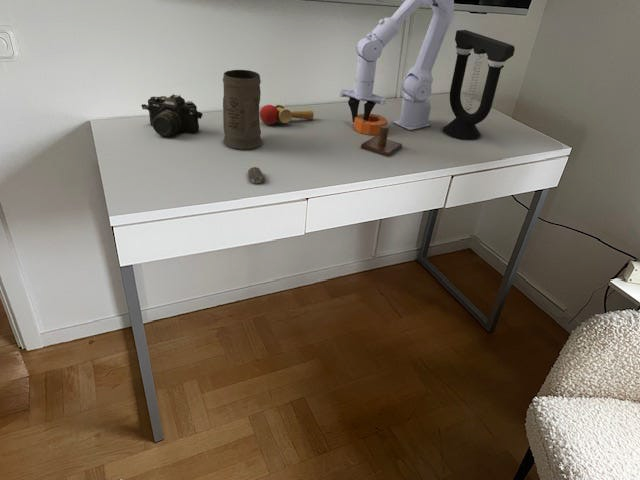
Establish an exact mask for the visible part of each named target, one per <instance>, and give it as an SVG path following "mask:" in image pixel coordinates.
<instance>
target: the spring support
mask: <svg viewBox="0 0 640 480" xmlns="http://www.w3.org/2000/svg"><path fill="white" fill-rule="evenodd" d="M454 41H455V44H456V46H455V49H456V60H455V64H454V69H453V74H452V78H451V79H452V80H451V85H450V88H449V104H450V109H451V112H452V113H453V115H454V116H455V118H454V119H453V120H451V121H450V122H449V123H447V125H445V126H444V127H443V128H442V132H443V134H445V135H446V136H448V137H450V138H453V139H458V140H463V141H472V140H477V139H479V138H480V137H481V133H480V131H479V129H478V127H477V125H478V124H479V123H481V122H483V121H484V120H485V119H486V118H487V117H488V116H489V114H490V112H491V110H492V107H493V103H494V98H495V95H496V91H497V87H498V83H499V79H500V76H501V72H502V69H503V68H504V67H505V66H504V63H506V61H508V60H509V59H511V58H512V57H513V56H514V53H515V51H516V50H515V49H516V48H515V45H513V44H510V43H507V42H504V41H501V40H498V39H495V38H491V37H489V36H486V35H482V34H480V33H476V32H474V31H471V30H468V29H458V30H456V31H455V36H454ZM471 51H473V53H474V54H475V55H478V58H476V59H475V62H474V66H473V71H472V75H471V80H470V83H469V88H468V91H467V92H468V93H467V96H466V98H467V99H466V101H465V105H464V107H463V104H462V97H461V95H462V94H461V92H462V88H463V83H464V80H465V79H464V78H465V75H466V70H467V64H468V60H469V57H470V56H471ZM485 54H486V56H487V66H488V70H487V75H486V79H485V82H484V88H483V91H482V94H481V95H482V96H481V100H480V103H479V106H478V108H477V110H476V111H475V112H473V113H470V112H469V111H471V109H472V107H471V106H473V104H472V103H473V101H474V98H475V96H474V95H475V93H476V89H477V88H476V87H477V84H478V79H479V76H480V72H481V67H482V65H481V64H482V63H483V62H482V61H479V60H480V59H482V58H483V57H484V55H485Z"/></svg>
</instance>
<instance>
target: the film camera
mask: <svg viewBox="0 0 640 480" xmlns="http://www.w3.org/2000/svg"><path fill="white" fill-rule="evenodd" d="M140 106H141V109H142V110H147V111H148V114H149V123H150V126H152V128H153V130H154V131H155V133H157V135H159V136H160V137H163V138H166V137H170V136H173V135H175V134H182V133H184V132H185V133H190V134H196V133H198V132H199V129H200V125H199V120H201V119H202V117H203V113H202V112H201V111H198V107H197V105H196V104H195V103H194V102H193V101H189V100H188V101H186V100H185V98H184V97H182V96H181V95H180V94H178V95H176V94H174V93H173V94H171V95H169V96H165V95H161V96H150V98H149V99H147V104H145V103H144V104H141V105H140Z"/></svg>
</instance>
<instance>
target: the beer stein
mask: <svg viewBox="0 0 640 480" xmlns="http://www.w3.org/2000/svg"><path fill="white" fill-rule="evenodd" d="M222 83H223V96H222V119H223V120H222V122H223V123H222V124H223V126H222V127H223V133H224V136H223V144H224V145H225V146H226V147H228V148H230V149H233V150H242V151H243V150H246V151H247V150H252V149H256V148H258V147H260V146H261V145H262V137H261V134H262V129H261V124H260V123H261V121H260V120H261V118H260V103H261V83H262V81H261V75H260V74H259V72H257V71H254V70H249V69H232V70H231V69H230V70H226V71H224V72H223V76H222Z"/></svg>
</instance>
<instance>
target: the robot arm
mask: <svg viewBox="0 0 640 480" xmlns="http://www.w3.org/2000/svg"><path fill="white" fill-rule="evenodd" d="M424 6H430V8H431V10H432V12H433V14H432V17H431V19H430V23H429V26H428V29H427V31H426V34H425V37H424V39H423V42H422V45H421V48H420V50H419V54H418V55H417V58H416V61H415V63H414V65H413V66H412V67H411V68H409V70H408V72H407V74H406V75H405V77H404V78H403V79H402V82H401V89H402V92H403V97H402V103H401V109H400V115H399V119H397V120H394V121H393V123H394V124H395V125H397V126H399V127H402V128H403V129H405V130H408V131H413V130H418V129H422V128H426V127H430V124H429V118H430V114H431V108H432V104H431V100H430V99H429V98H430V96H431V94H432V86H433V85H432V84H433V82H434V78H433V72H432V71H433V68H434V65H435V63H436V60H437V58H438V55H439V52H440V50H441V47H442V44H443V42H444V39H445V36H446V35H447V32H448V28H449V26H450V23H451V20H452V18H453V16H454V12H455V0H404V2H403V3H402V4H400V6H399V7H398V8H397V10H396V11H395V12H394V13H393V14H392V16H389V17H384V18H383V19H379V21H378V22H377V23H378V24H377V25H376V26H375V27H374V28H373V29H372V31H370V32H368V33H367V34H366V37H363V38H361V39H360V40H359V41H358V43H357V45H356V46H355V52H356V54H357V55H358V56H357V63H356V71H355V81H354V88H353V89H354V90H353V89H340V91H339V92H340V94H339V97H340V98H347V99H348V101H347V104H348V106H349V109H350V112H351V117H352V119H351V120H352V123H354V120H355V117H356V116H357V115H359V106H360V102H361V101H363V102H365V103H364V104H363V114H364V118H363V120H365V121H367V120H368V117H369V115H370V114H372V111H373V109H374V108H375V106H376V104H377V105H380V106H385V105H386V101H387V97H384V96H380V95H378V94H374V93H373V91H374V85H375V77H376V69H377V61H378V59H380V57H381V55H382V53H383V50H384V48H385V47H386V46H387V45H388V44H389V43H390V42H391V41H392V40H393V39H394V38H395V37H396V35H398V33H399V30H400V26H401V25H402V24H403V23H404V22H405V21H406V20H407V19H408V18H409V17H410V16H412V14H414V13H415V12H416V11H417V10H418V9H419V8H420V7H424Z"/></svg>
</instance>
